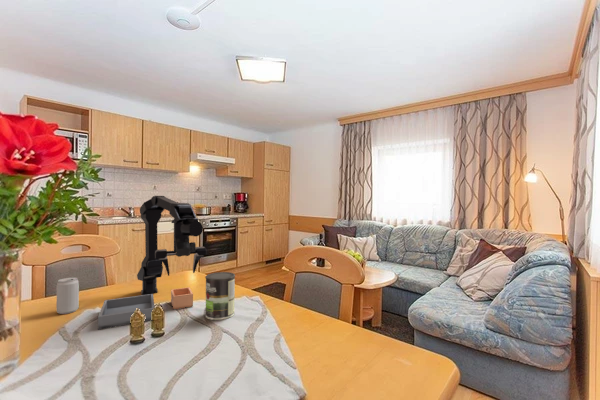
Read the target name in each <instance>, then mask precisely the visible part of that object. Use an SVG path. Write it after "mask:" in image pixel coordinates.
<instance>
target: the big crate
mask: <svg viewBox="0 0 600 400" xmlns="http://www.w3.org/2000/svg"><path fill="white" fill-rule="evenodd" d="M136 308H139V309H140V311H141V312H142V313H143V314H145V316H146V319H145V322H150V320H151V312H152V310H153V308H155V299H154V293H150V294H143V295H141V294H140V295H136V296H135V295H134V296H127V297H119V298H112V299H105V300H104V301H103V304H102V306H101V309H100V311H99V314H98V317H97V330H98V331H99V330H105V329H110V327H111V328H116V327H121V326H120V325H122V326H126V325H125V324H128V325H130V324H129V323H130V317H131V315H132V314H133V313H134V311H135V310H136ZM151 321H152V320H151ZM115 326H116V327H115Z"/></svg>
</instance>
